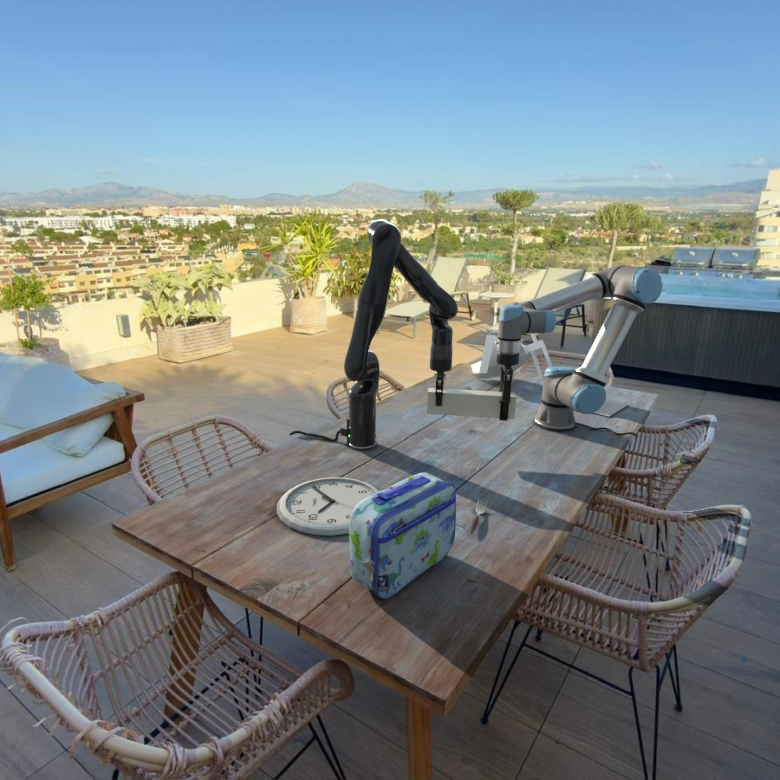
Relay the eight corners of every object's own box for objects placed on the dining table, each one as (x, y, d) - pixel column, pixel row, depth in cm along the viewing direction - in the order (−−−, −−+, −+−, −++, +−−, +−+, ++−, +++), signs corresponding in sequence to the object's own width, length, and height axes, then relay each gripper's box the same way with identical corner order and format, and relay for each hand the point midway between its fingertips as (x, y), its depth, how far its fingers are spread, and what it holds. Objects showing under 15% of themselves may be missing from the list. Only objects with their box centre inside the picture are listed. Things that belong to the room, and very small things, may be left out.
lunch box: (377, 612, 103) (378, 518, 97) (342, 586, 111) (341, 497, 104) (459, 557, 121) (465, 475, 115) (425, 538, 128) (428, 460, 122)
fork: (465, 534, 130) (466, 527, 129) (478, 504, 144) (478, 498, 144) (476, 536, 129) (476, 529, 128) (487, 506, 143) (488, 499, 143)
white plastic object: (492, 421, 263) (472, 398, 238) (473, 348, 285) (453, 320, 260) (564, 397, 251) (551, 370, 226) (538, 322, 273) (524, 290, 248)
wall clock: (392, 527, 129) (268, 531, 127) (391, 533, 130) (269, 537, 127) (383, 473, 158) (282, 475, 155) (383, 478, 158) (282, 480, 156)
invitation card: (608, 416, 214) (573, 407, 224) (608, 416, 214) (573, 408, 224) (628, 404, 229) (594, 396, 238) (628, 405, 229) (594, 397, 238)
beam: (512, 414, 184) (514, 392, 181) (514, 419, 179) (516, 397, 176) (427, 409, 187) (428, 387, 184) (426, 413, 182) (427, 391, 180)
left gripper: (431, 350, 185) (429, 396, 190) (429, 360, 172) (427, 409, 177) (452, 351, 184) (449, 397, 189) (452, 361, 171) (449, 410, 176)
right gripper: (494, 345, 184) (490, 408, 191) (498, 357, 167) (493, 425, 174) (516, 346, 183) (511, 409, 190) (522, 358, 166) (516, 427, 173)
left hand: (438, 402), depth 183 cm, fingers closed on beam, 5 cm apart
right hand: (502, 417), depth 182 cm, fingers closed on beam, 5 cm apart
